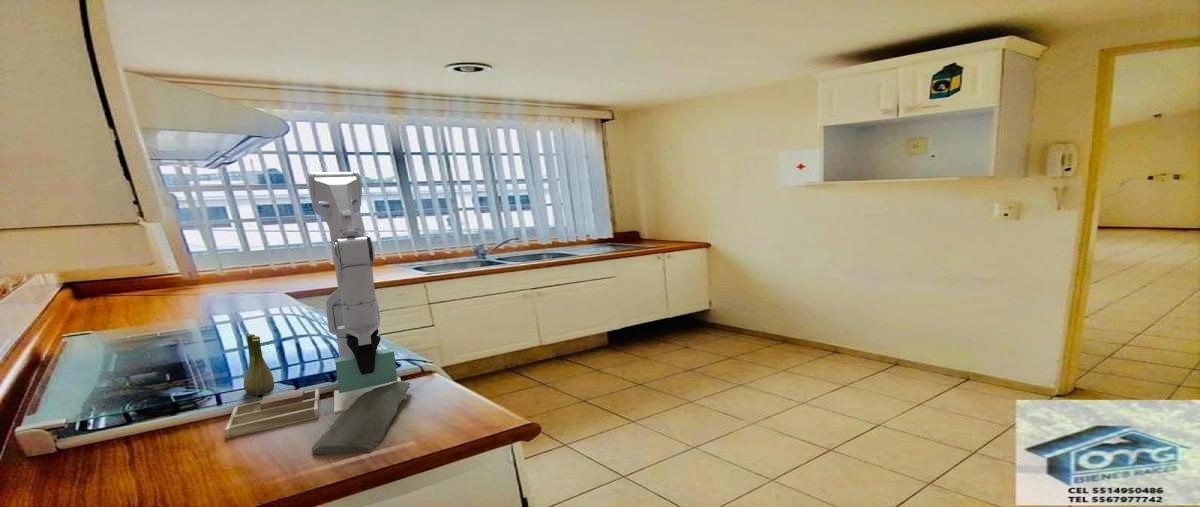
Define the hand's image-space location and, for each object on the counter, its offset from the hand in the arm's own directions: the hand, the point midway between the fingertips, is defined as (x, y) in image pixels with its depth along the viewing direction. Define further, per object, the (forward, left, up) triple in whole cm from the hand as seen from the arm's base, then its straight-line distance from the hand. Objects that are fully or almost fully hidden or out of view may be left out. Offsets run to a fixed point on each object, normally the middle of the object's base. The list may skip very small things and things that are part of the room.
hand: (367, 370), depth 92 cm
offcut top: (-2, -14, -4) cm, 15 cm away
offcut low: (-2, -15, -5) cm, 16 cm away
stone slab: (+10, -1, -5) cm, 11 cm away
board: (0, 0, -3) cm, 3 cm away
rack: (0, -15, -5) cm, 16 cm away
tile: (0, 0, -5) cm, 5 cm away
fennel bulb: (-15, -19, -6) cm, 25 cm away
